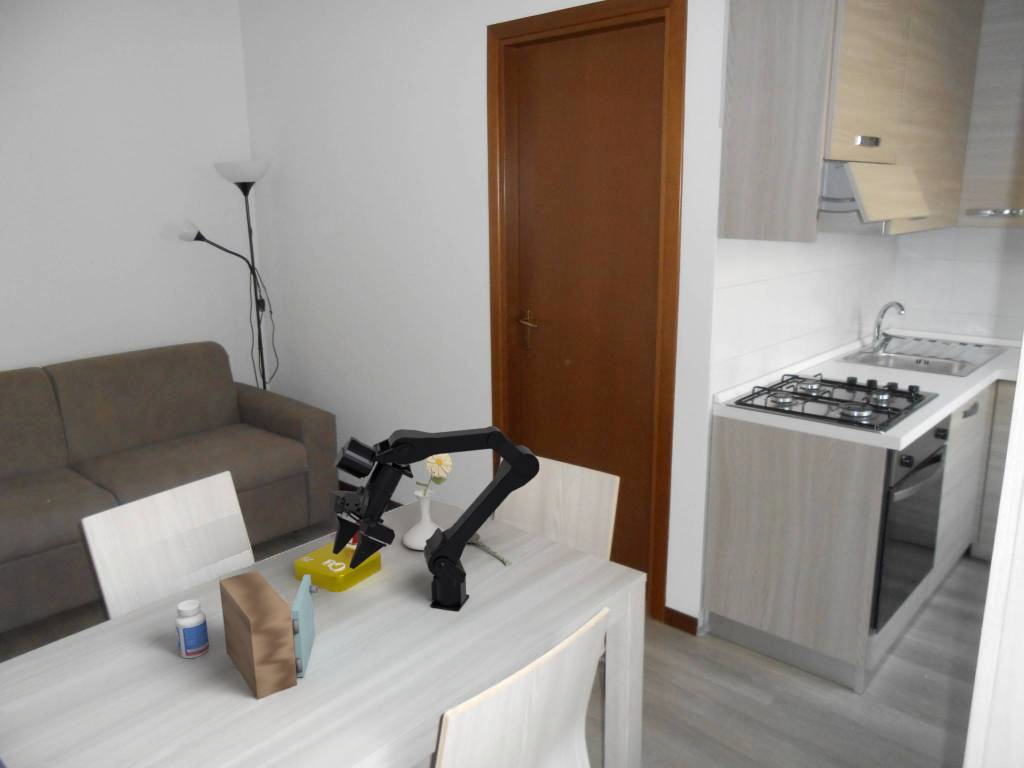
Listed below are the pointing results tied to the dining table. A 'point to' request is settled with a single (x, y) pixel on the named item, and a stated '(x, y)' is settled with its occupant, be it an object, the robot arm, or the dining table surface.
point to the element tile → (335, 567)
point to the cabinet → (258, 633)
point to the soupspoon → (476, 538)
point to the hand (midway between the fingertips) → (342, 560)
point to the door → (303, 624)
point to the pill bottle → (191, 629)
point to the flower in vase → (427, 502)
